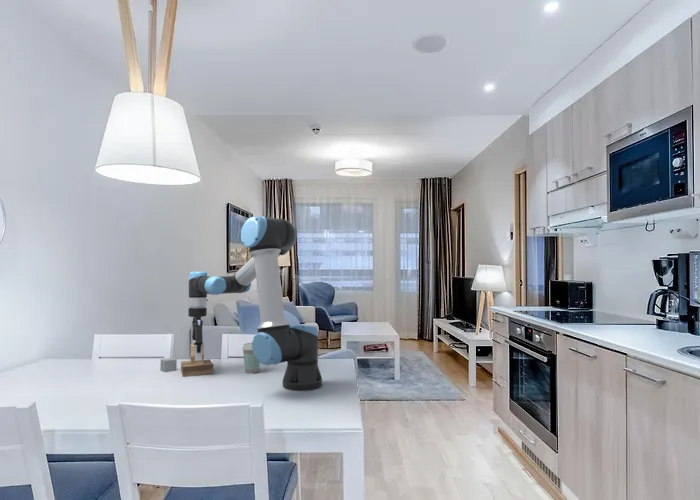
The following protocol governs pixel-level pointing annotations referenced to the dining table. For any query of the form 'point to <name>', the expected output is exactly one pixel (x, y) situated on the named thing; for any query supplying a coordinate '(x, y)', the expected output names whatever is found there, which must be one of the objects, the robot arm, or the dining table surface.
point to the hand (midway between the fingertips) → (196, 357)
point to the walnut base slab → (196, 368)
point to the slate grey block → (168, 364)
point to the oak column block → (192, 356)
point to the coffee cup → (250, 359)
